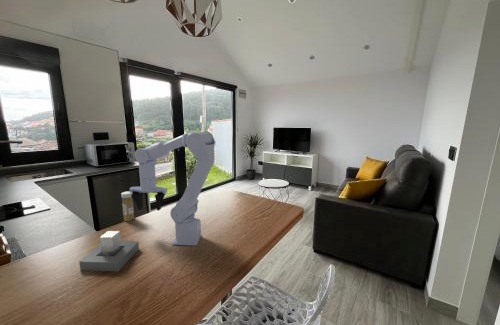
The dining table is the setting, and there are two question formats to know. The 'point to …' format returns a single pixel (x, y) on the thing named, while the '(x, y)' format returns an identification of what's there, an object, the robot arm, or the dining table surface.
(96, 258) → the frame
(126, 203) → the sprinkles bottle
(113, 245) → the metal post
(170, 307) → the dining table surface
